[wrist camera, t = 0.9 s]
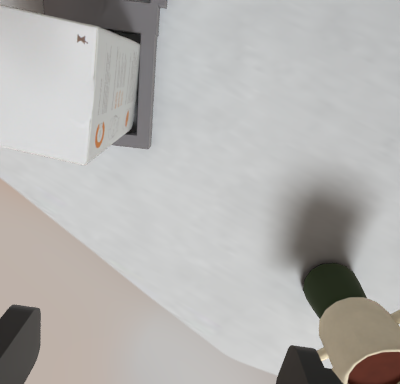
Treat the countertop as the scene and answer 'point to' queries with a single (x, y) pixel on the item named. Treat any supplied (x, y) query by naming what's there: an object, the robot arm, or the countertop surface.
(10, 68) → the small box
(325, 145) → the countertop surface
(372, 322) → the character mug
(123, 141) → the holder
